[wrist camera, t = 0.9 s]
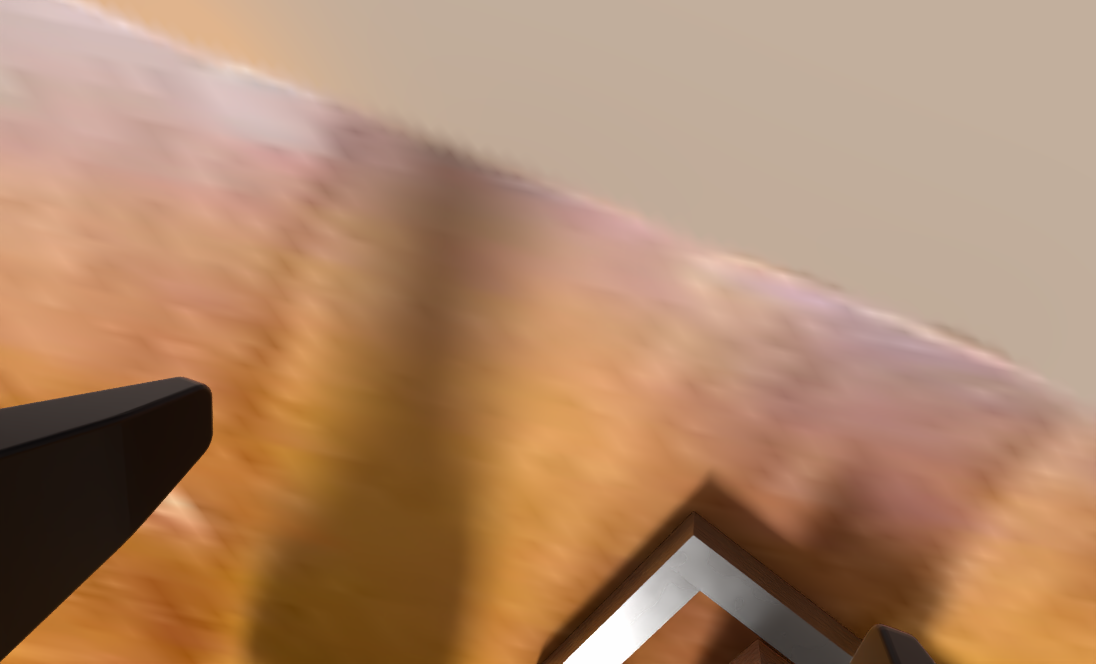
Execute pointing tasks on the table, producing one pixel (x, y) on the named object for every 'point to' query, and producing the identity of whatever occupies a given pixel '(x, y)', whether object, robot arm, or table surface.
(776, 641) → the socket frame
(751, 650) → the block
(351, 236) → the table surface
